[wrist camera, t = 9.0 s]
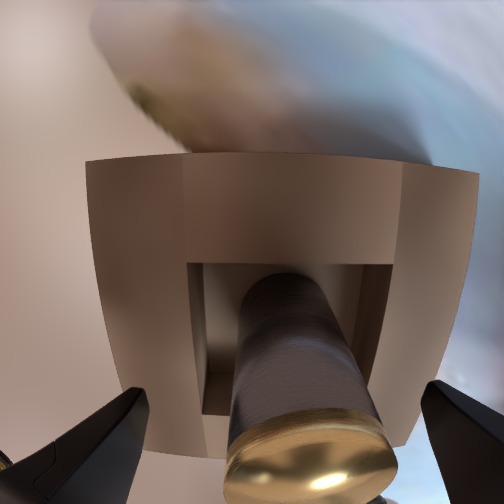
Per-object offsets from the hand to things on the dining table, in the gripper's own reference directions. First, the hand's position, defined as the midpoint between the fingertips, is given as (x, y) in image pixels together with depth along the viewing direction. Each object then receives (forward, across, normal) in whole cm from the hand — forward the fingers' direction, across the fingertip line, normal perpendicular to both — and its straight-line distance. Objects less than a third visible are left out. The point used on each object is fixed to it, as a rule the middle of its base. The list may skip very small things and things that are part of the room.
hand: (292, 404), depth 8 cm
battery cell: (+6, 0, 0) cm, 6 cm away
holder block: (+6, 0, 0) cm, 6 cm away
